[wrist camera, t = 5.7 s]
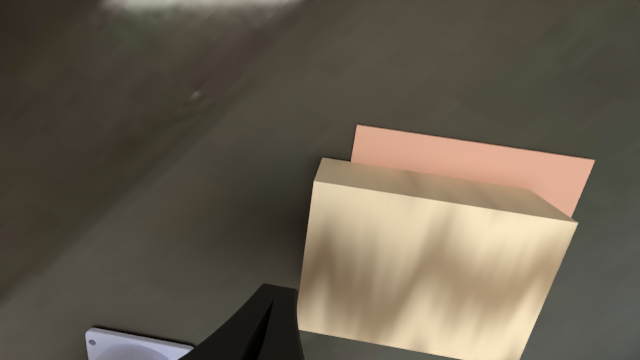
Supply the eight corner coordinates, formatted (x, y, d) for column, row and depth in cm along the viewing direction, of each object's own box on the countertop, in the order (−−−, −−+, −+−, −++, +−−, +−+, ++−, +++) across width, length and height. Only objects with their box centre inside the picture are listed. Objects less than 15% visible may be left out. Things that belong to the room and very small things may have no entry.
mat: (514, 342, 21) (517, 345, 21) (325, 308, 21) (325, 311, 21) (590, 158, 17) (595, 160, 17) (357, 124, 18) (357, 125, 17)
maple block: (305, 281, 21) (484, 312, 20) (294, 328, 17) (514, 369, 16) (322, 157, 18) (529, 189, 17) (313, 180, 14) (578, 222, 14)
